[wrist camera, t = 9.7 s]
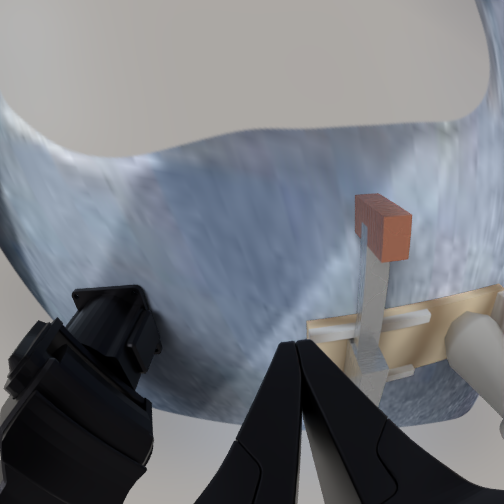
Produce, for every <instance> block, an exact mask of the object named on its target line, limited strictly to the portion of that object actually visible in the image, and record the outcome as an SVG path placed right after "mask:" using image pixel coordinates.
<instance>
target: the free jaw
mask: <svg viewBox="0 0 504 504" xmlns="http://www.w3.org/2000/svg"><path fill="white" fill-rule="evenodd" d="M411 225H412V214H410V213H409V212H407V211H406V210H404V209H403V208H401V207H399V206H398V205H396V204H395V203H393V202H392V201H390V200H388V199H387V198H385V197H384V196H382V195H380V194H379V193H377V194H361V195H355V233H356V234H357V235H358V236H359V237H360V238H361V260H360V278H359V293H358V305H357V316H356V326H355V335H354V338H349V339H348V341H347V350H346V359H345V367H344V373H345V374H346V375H347V376H348V377H349V378H350V379H351V380H352V381H353V382H354V384H355V385H356V386H357V387H358V388H359V389H360V390H361V391H362V392H363V393H364V394H365V395H366V396H367V397H368V398H369V399H370V400H371V401H372V402H373V403H374V404H375V405H376V406H377V407H378V405H379V402H380V399H381V396H382V393H383V389H384V386H385V383H386V379H387V376H388V372H389V367H388V365H387V363H386V360H385V358H384V356H383V354H382V352H381V350H380V348H379V346H378V344H379V339H380V333H381V327H382V321H383V315H384V308H385V301H386V294H387V286H388V277H389V268H390V262H392V261H399V260H406V259H408V257H409V248H410V237H411Z"/></svg>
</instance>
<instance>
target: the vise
mask: <svg viewBox="0 0 504 504" xmlns="http://www.w3.org/2000/svg"><path fill="white" fill-rule="evenodd" d="M466 311H470V312H474V313H479V314H485V315H489V316H490V317H491V318H492V319H493V320H495V321H496V322H497V324H498V326H499V327H500V329H501V331H502V332H503V334H504V288H503V287H502V286H501V285H500V284H496V285H492V286H488V287H484V288H480V289H477V290H473V291H468V292H464V293H460V294H456V295H452V296H447V297H443V298H438V299H434V300H429V301H424V302H419V303H414V304H409V305H404V306H399V307H394V308H388V309H384V315H383V321H382V327H381V333H380V339H379V344H378V346H379V348H380V350H381V352H382V354H383V356H384V358H385V360H386V363H387V365H388V367H389V372H388V376H387V379H386V382H389V381H393V380H397V379H401V378H405V377H408V376H412V375H413V374H414V371H415V369H414V368H417V367H421V366H425V365H428V364H431V363H435V362H438V361H441V360H444V359H447V355H446V347H445V339H444V338H445V336H446V333H447V331H448V329H449V327H450V325H451V323H452V322H453V321H454V320H455V319H457V318H458V317H459V316H461V315H462V314H463V313H464V312H466ZM356 316H357V314H352V315H346V316H339V317H332V318H325V319H318V320H310V321H307V339H311V340H313V341H314V342H315V343H316V345H317V346H318V347H319V348H320V349H321V350H322V351H323V352H324V353H325V354H326V355H327V356H328V357H329V358H330V359H331V360H332V361H333V362H334V363H335V364H336V365H337V366H338V367H339V368H340V369H341V370H342V371H343V372H344V367H345V359H346V350H347V341H348V339H349V338H354V335H355V326H356Z"/></svg>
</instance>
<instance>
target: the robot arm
mask: <svg viewBox="0 0 504 504" xmlns="http://www.w3.org/2000/svg"><path fill="white" fill-rule="evenodd" d="M133 290H134V291H136V292H137V294H136V293H134V292H133ZM77 295H78V296H79V297H78V296H77ZM72 298H73V300H74V303H75V305H76V307H77V309H78V311H77V312H76V314H75V315H74V316H73V317H72V319H71V320H70V321H69V323H68V324H67V325H66V327H64V326H63V325H62V324H63V323H62V322H61V320H60V319H59V318H58V317H57V318H56V319H55V320H54V321H53V322H52V323H50V322H49V323H45V322H42V321H39V320H38V322H37V323H36V324H35V325H34V326H33V327H32V328H31V330H30V331H29V332H28V333H27V335H26V336H25V337H24V338H23V340H22V341H21V342H20V344H19V345H18V346H17V348H16V349H15V351H14V352H13V353H12V355H11V356H10V358H9V359H8V361H9V369H10V372H9V374H8V376H7V378H8V380H7V382H6V384H5V386H4V389H5V390H6V391H7V392H8V393H9V394H10V396H9V398H8V399H7V401H6V402H5V404H4V405H3V407H2V409H1V413H0V454H1V460H0V504H123V502H124V500H125V498H126V496H127V494H128V492H129V490H130V489H131V488H132V486H133V485H134V484H135V482H136V481H137V480H138V479H139V478H140V477H141V476H142V475H143V474H144V473H145V472H146V471H147V468H146V467H145V466H146V464H147V463H148V461H149V459H150V457H151V454H152V451H153V442H154V438H153V427H152V402H150V401H149V400H148V399H146V398H143V397H142V396H141V395H139V394H138V393H137V392H136V391H135V390H136V387H137V384H138V381H139V379H140V376H141V373H144V374H145V373H146V372H147V371H148V369H149V366H150V363H151V360H152V357H153V355H154V354H160V353H161V351H162V345H161V343H160V340H159V339H160V335H159V332H158V330H157V327H156V324H155V321H154V319H153V316H152V313H151V312H150V311H149V310H148V307H147V304H146V301H145V298H144V295H143V292H142V289H141V288H140V287H139V286H137V285H124V286H112V287H98V288H84V289H75V290H74V291H73V293H72ZM156 348H157V349H156ZM302 415H303V420H304V424H305V428H306V432H307V435H308V439H309V443H310V447H311V451H312V455H313V459H314V462H315V467H316V470H317V474H318V478H319V482H320V486H321V490H322V494H323V498H324V502H325V504H504V490H497V489H490V488H485V487H481V486H478V485H476V484H473V483H471V482H469V481H467V480H466V479H464V478H463V477H461V476H460V475H458V474H457V473H455V472H454V471H453V470H451V469H450V468H448V467H447V466H446V465H444V464H443V463H441V462H440V461H439V460H437V459H436V458H434V457H433V456H432V455H430V454H429V453H428V452H426V451H425V450H424V449H422V448H421V447H420V446H419V445H417V444H416V443H415V442H414V441H412V440H411V439H410V438H409V437H408V436H407V435H406V434H405V433H403V431H402V430H400V429H399V428H398V427H397V426H396V425H395V424H394V423H393V422H392V421H391V420H390V419H387V416H386V415H385V414H384V413H383V412H382V411H381V410H380V409H379V408H378V407H377V406H376V405H375V404H374V403H373V402H372V401H371V400H370V399H369V398H368V397H367V396H366V395H365V394H364V393H363V392H362V391H361V390H360V389H359V388H358V387H357V386H356V385H355V384H354V382H353V381H352V380H351V379H350V378H349V377H348V376H347V375H346V374H345V373H344V372H343V371H342V370H341V369H340V368H339V367H338V366H337V365H336V364H335V363H334V362H333V361H332V360H331V359H330V358H329V357H328V356H327V355H326V354H325V353H324V352H323V351H322V350H321V349H320V348H319V347H318V346H317V345H316V343H315V342H314V341H313V340H311V339H305V340H298V341H297V342H296V343H295V342H294V341H288V342H281V343H280V344H279V345H278V348H277V350H276V352H275V355H274V357H273V359H272V362H271V364H270V366H269V368H268V371H267V373H266V375H265V377H264V380H263V382H262V384H261V386H260V388H259V390H258V393H257V395H256V397H255V399H254V401H253V403H252V406H251V408H250V410H249V412H248V414H247V416H246V418H245V420H244V422H243V424H242V426H241V429H240V431H239V433H238V435H237V437H236V441H234V442H233V444H232V446H231V448H230V450H229V452H228V454H227V456H226V458H225V459H224V461H223V463H222V465H221V466H220V468H219V470H218V471H217V473H216V474H215V476H214V477H213V479H212V480H211V481H210V483H209V484H208V486H207V487H206V489H205V490H204V491H203V493H202V494H201V495H200V496H199V498H198V499H197V500H196V501H195V503H194V504H297V502H298V488H299V473H300V456H301V434H302V433H301V432H302Z"/></svg>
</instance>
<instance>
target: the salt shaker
mask: <svg viewBox="0 0 504 504" xmlns="http://www.w3.org/2000/svg"><path fill="white" fill-rule="evenodd" d="M444 339H445V347H446V355H447V359H448V362H449V365H450V367H451V368H452V369H453V370H454V371H455V372H456V373H458V374H459V375H460V376H461V377H462V378H463V379H464V380H465V381H466V382H467V383H468V384H469V385H470V386H471V387H472V388H473V389H474V390H475V391H476V392H477V393H478V394H479V395H480V396H481V397H482V398H484V400H485V401H486V402H487V403H488V404H490V405H491V407H492V408H493V409H494V410H495V411H496V412H497V413H499V415H500V416H501V417H502V418H503V420H502V422H501V424H500V433H501V435H502V437H503V439H504V334H503V332H502V331H501V329H500V327H499V326H498V324H497V322H496V321H495V320H493V319H492V318H491V317H490V316H489V315H485V314H479V313H474V312H470V311H466V312H464V313H463V314H462V315H461V316H459V317H458V318H457V319H455V320H454V321H453V322H452V323H451V325H450V327H449V329H448V331H447V333H446V336H445V338H444Z"/></svg>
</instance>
